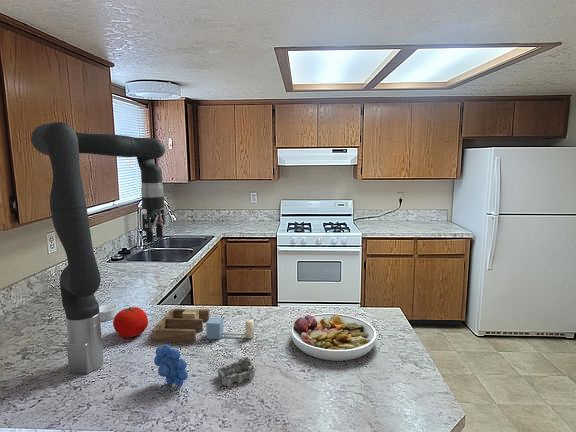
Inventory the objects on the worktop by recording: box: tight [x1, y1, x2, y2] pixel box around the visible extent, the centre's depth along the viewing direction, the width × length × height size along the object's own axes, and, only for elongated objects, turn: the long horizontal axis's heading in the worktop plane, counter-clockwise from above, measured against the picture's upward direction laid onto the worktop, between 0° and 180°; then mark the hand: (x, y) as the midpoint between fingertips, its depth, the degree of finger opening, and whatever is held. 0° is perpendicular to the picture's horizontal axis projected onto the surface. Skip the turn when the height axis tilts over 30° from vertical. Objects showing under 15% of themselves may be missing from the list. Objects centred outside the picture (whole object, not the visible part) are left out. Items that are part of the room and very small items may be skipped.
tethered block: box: [205, 317, 255, 340], centre depth 140 cm, size 5×17×6 cm, turn 87°
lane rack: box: [151, 308, 210, 344], centre depth 145 cm, size 20×16×4 cm
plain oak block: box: [182, 308, 200, 319], centre depth 150 cm, size 5×5×6 cm
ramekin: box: [99, 303, 119, 322], centre depth 157 cm, size 9×9×4 cm
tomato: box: [112, 306, 149, 339], centre depth 141 cm, size 11×12×10 cm
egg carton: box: [216, 356, 257, 387], centre depth 114 cm, size 11×8×4 cm
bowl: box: [290, 312, 377, 362], centre depth 135 cm, size 30×30×8 cm
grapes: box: [153, 343, 189, 387], centre depth 109 cm, size 12×7×12 cm, turn 67°
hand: (155, 239), depth 138 cm, fingers open, 8 cm apart
